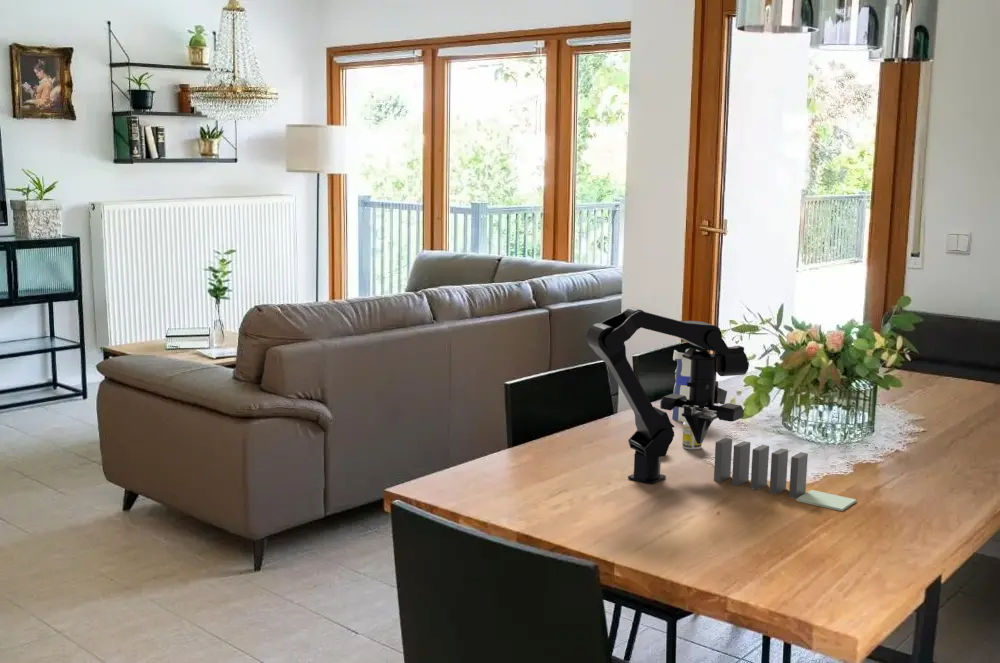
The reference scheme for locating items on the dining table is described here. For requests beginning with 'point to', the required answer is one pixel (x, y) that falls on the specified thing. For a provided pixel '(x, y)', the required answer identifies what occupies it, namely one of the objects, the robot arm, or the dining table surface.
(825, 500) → the pad
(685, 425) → the supplement bottle
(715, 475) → the domino
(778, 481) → the domino
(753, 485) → the domino
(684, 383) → the water bottle
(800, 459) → the domino
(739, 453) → the domino
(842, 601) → the dining table surface
